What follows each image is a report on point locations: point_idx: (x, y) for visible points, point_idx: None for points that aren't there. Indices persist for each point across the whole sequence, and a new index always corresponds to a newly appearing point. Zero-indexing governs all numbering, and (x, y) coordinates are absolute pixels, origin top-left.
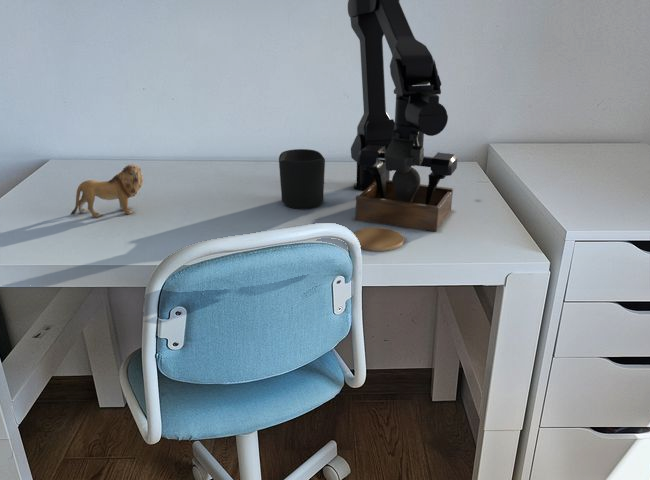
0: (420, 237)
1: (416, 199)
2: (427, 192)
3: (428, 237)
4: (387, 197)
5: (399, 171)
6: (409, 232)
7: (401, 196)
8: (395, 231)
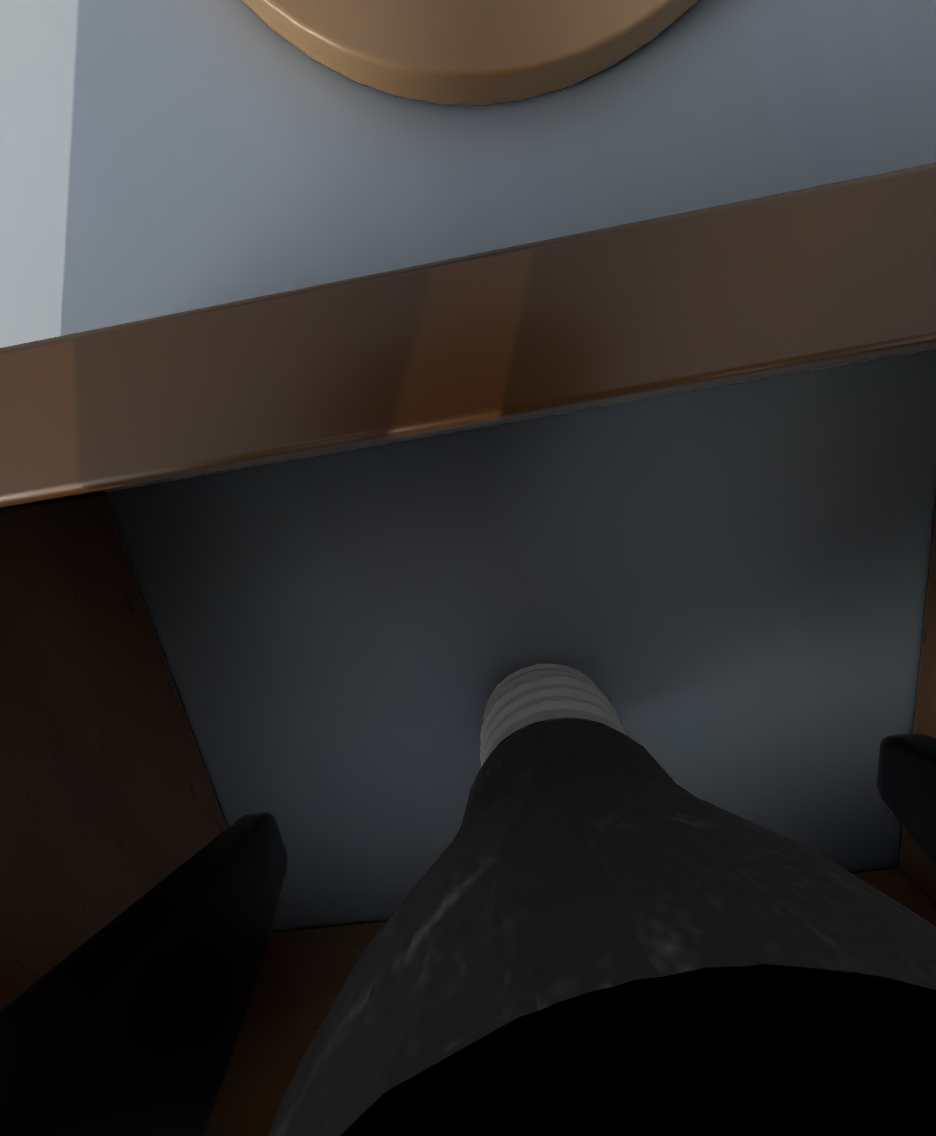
0: (78, 184)
1: None
2: (59, 1027)
3: (12, 243)
4: None
5: None
6: (264, 269)
7: (607, 775)
8: (351, 38)
